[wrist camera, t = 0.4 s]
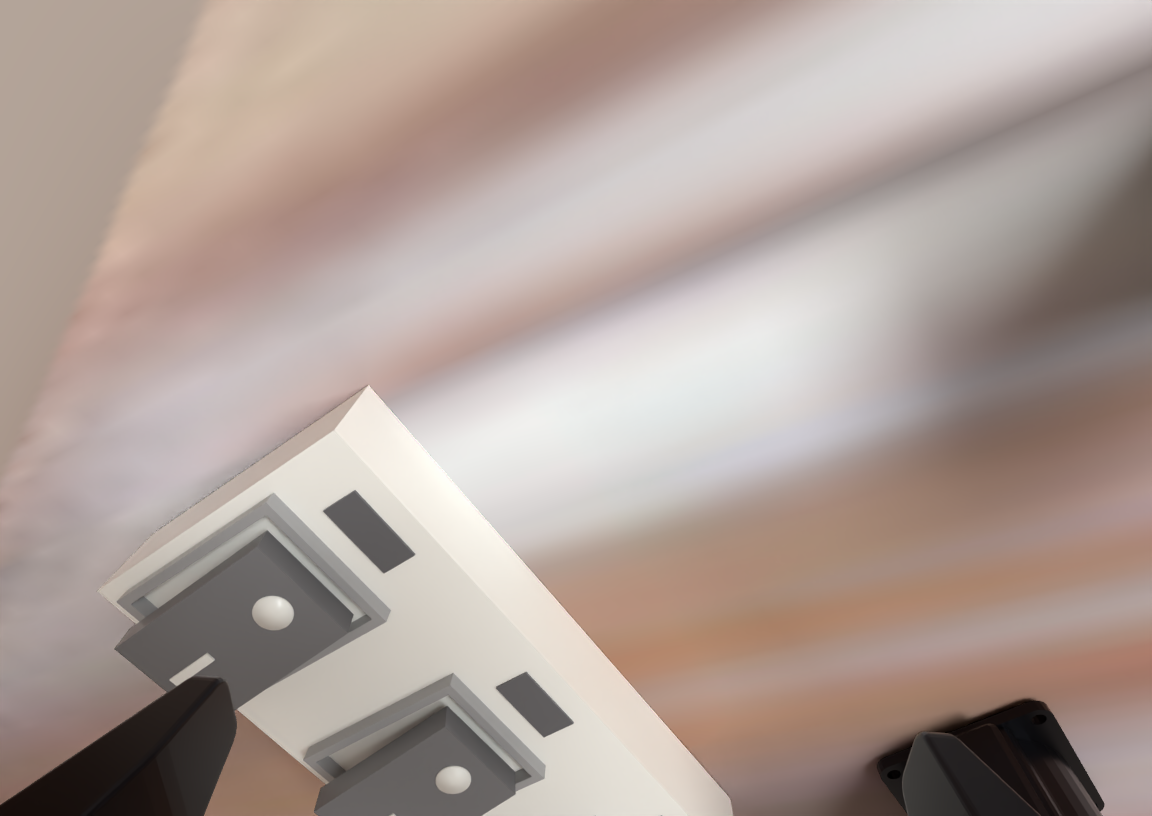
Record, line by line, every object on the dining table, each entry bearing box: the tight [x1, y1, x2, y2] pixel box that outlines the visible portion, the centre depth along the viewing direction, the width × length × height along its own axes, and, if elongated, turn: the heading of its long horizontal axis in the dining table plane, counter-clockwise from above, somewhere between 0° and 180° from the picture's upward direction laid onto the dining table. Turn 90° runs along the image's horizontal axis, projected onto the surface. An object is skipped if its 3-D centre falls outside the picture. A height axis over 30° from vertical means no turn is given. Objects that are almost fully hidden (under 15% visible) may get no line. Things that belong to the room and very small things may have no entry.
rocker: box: [114, 530, 354, 711], centre depth 21 cm, size 4×5×1 cm
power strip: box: [97, 385, 733, 816], centre depth 26 cm, size 28×10×4 cm, turn 35°
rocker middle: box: [314, 706, 516, 816], centre depth 23 cm, size 4×5×1 cm
